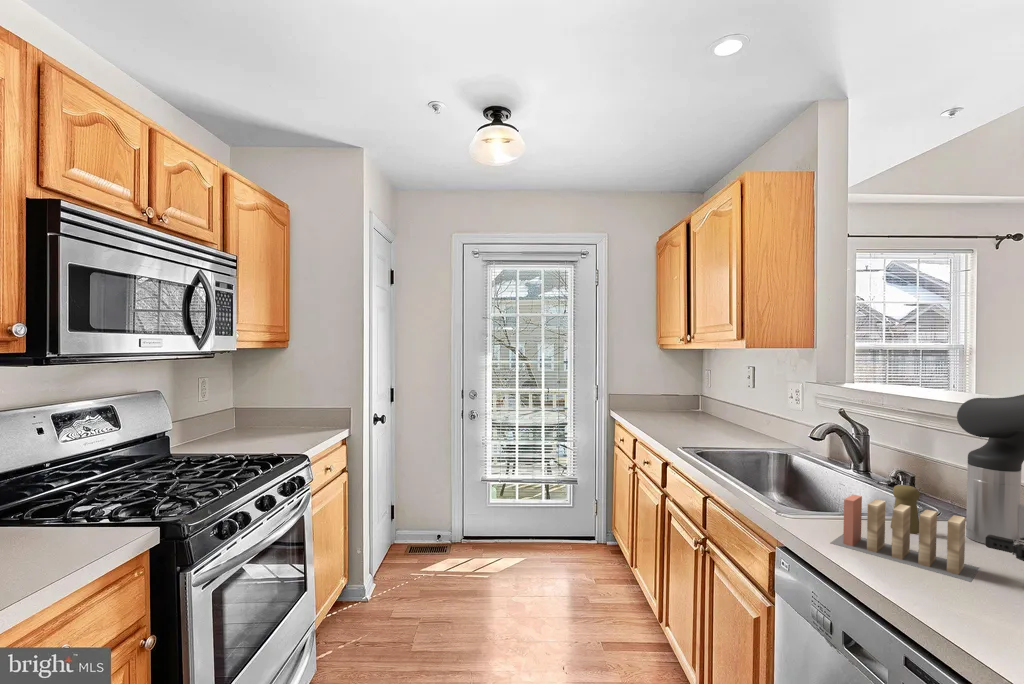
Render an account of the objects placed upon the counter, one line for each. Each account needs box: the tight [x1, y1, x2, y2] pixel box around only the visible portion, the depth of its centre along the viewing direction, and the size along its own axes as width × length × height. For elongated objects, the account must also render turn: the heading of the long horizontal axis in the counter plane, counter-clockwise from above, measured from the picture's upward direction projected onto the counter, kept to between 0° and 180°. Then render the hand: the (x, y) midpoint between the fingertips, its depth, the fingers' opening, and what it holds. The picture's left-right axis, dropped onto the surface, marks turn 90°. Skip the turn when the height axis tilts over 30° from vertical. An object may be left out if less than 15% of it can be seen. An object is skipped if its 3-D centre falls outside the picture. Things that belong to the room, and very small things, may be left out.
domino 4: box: [918, 509, 938, 567], centre depth 108 cm, size 2×6×10 cm, turn 131°
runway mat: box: [829, 533, 980, 583], centre depth 111 cm, size 24×10×1 cm, turn 41°
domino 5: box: [946, 514, 966, 575], centre depth 104 cm, size 2×6×10 cm, turn 131°
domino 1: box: [842, 494, 863, 546], centre depth 118 cm, size 2×6×10 cm, turn 131°
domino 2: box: [866, 498, 886, 553], centre depth 114 cm, size 2×6×10 cm, turn 131°
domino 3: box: [891, 504, 911, 560], centre depth 111 cm, size 2×6×10 cm, turn 131°
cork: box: [890, 484, 920, 535], centre depth 127 cm, size 6×6×11 cm
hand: (986, 540), depth 101 cm, fingers closed
